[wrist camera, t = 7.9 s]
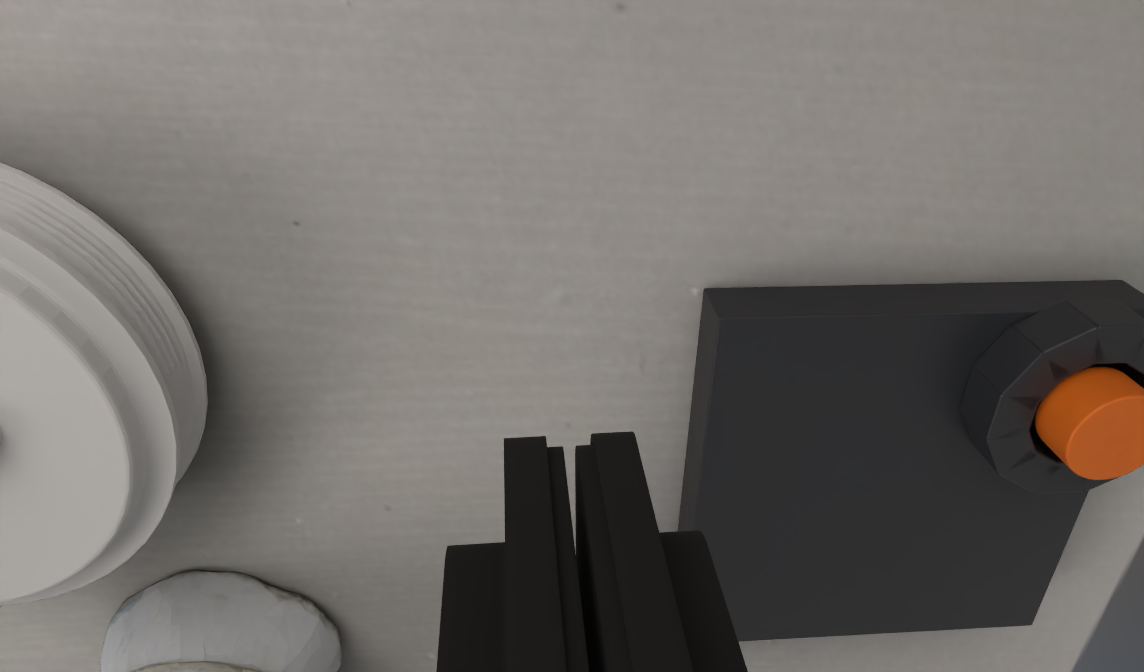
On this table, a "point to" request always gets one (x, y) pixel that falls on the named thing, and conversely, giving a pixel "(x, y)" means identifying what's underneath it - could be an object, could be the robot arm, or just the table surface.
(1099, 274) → the table surface
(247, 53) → the table surface
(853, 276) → the table surface
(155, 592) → the figurine
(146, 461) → the gray bolted wheel hub
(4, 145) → the table surface
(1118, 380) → the button
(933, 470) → the scale
